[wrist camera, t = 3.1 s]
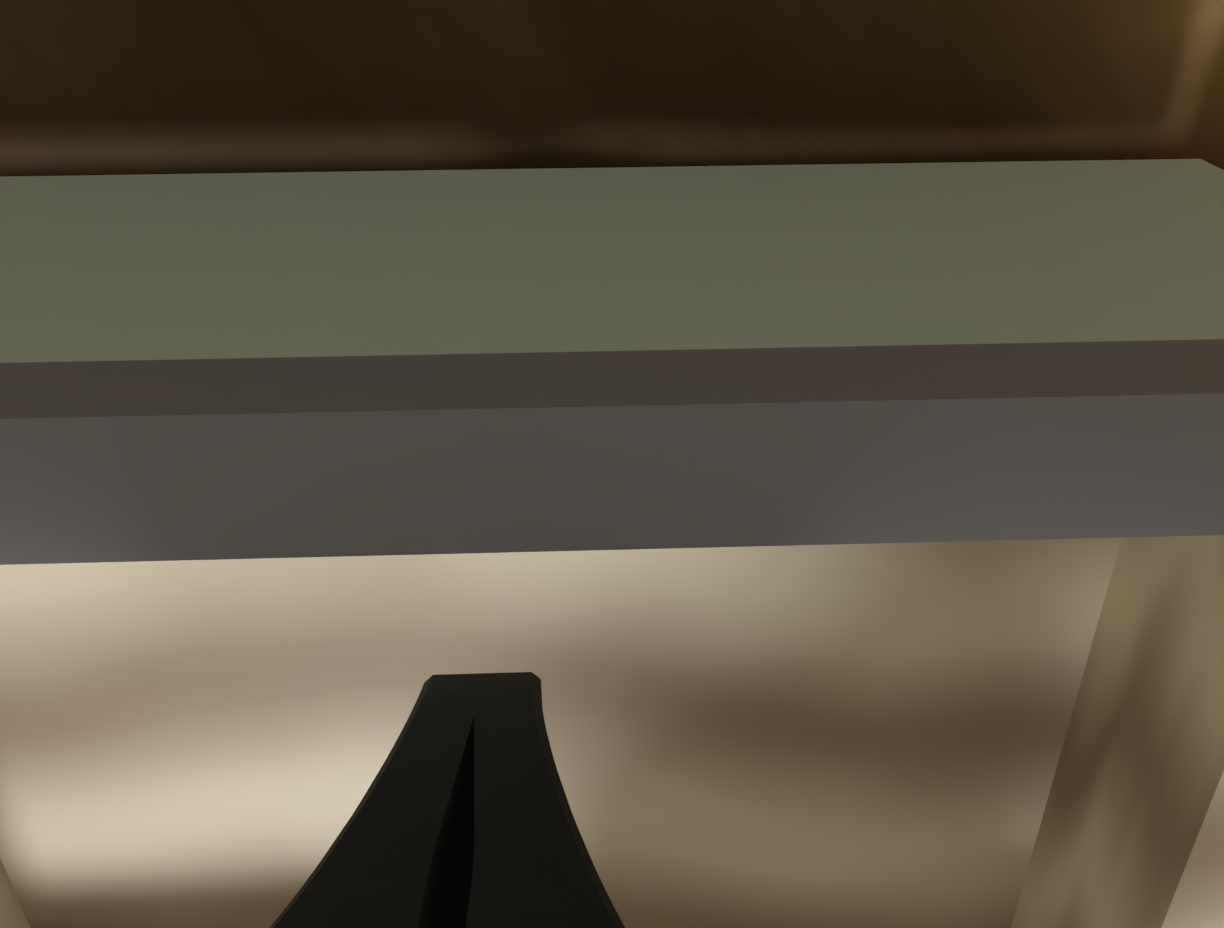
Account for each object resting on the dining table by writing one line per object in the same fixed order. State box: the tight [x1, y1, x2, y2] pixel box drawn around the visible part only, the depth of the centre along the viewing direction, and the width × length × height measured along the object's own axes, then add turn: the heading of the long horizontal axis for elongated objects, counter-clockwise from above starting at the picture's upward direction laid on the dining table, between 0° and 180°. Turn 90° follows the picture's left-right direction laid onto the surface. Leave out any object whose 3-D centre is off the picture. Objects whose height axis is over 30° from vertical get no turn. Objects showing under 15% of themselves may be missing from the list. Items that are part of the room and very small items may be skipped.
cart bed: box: [0, 535, 1224, 928], centre depth 18 cm, size 17×22×5 cm
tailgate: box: [0, 159, 1224, 565], centre depth 11 cm, size 1×19×7 cm, turn 90°
